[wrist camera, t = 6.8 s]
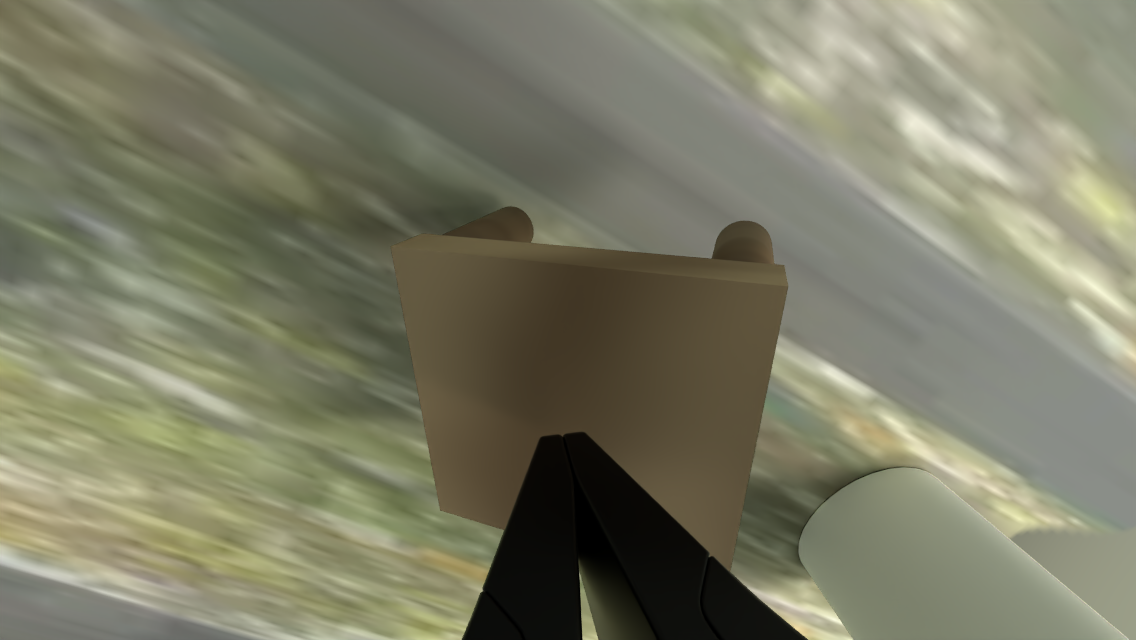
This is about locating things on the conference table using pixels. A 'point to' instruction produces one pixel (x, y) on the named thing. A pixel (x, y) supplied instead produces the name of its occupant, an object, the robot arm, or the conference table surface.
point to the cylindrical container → (933, 568)
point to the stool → (592, 363)
